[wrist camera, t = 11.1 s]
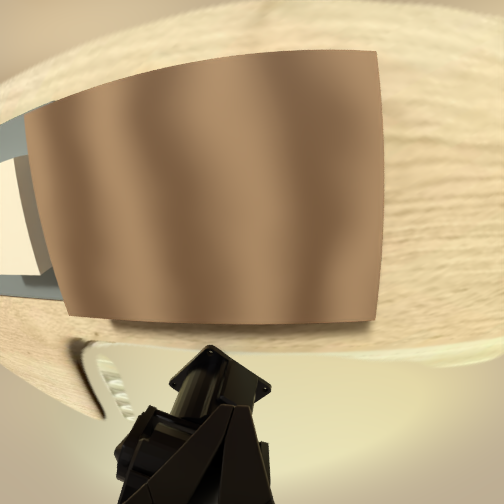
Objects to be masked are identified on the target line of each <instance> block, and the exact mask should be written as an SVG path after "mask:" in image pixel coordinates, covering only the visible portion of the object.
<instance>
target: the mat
mask: <svg viewBox="0 0 504 504" xmlns="http://www.w3.org/2000/svg"><path fill="white" fill-rule="evenodd" d="M52 102H55V101H51V102H49V103H47V104H50V103H52ZM47 104H44V105H42V106H39V107H37V108H35V109H33V110H36V109H38V108H40V107H43V106H45V105H47ZM33 110H30V111H28V112H26V113H29V112H31V111H33ZM26 113H24V114H26ZM24 114H22V115H19V116H17V117H15V118H13V119H11V120H9V121H7V122H5V123H3V124H1V125H0V163H1V162H4V161H6V160H9V159H12V158H15V157H19V156H23V155H27V154H28V150H27V142H26V133H25V122H24ZM0 295H7V296H18V297H29V298H42V299H55V300H63V297H62V294H61V291H60V288H59V285H58V282H57V279H56V276H55V273H54V269H53V266H52V267H51V268H50V269H48V270H47V271H45V272H44V273H43V274H41V275H0Z"/></svg>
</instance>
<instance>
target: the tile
mask: <svg viewBox="0 0 504 504" xmlns="http://www.w3.org/2000/svg"><path fill="white" fill-rule="evenodd" d="M51 267H52V263H51V259H50V256H49V252H48V249H47V245H46V241H45V237H44V233H43V229H42V225H41V221H40V217H39V212H38V208H37V203H36V198H35V193H34V188H33V182H32V176H31V170H30V164H29V157H28V154H27V155H23V156H19V157H15V158H12V159H9V160H6V161H4V162H1V163H0V275H41V274H43V273H44V272H45V271H47V270H48V269H50V268H51Z"/></svg>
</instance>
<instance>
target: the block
mask: <svg viewBox="0 0 504 504" xmlns="http://www.w3.org/2000/svg"><path fill="white" fill-rule="evenodd" d="M24 122H25V133H26V142H27V150H28V157H29V164H30V170H31V176H32V182H33V188H34V193H35V198H36V203H37V208H38V212H39V217H40V221H41V225H42V229H43V233H44V237H45V241H46V245H47V249H48V252H49V256H50V259H51V263H52V266H53V269H54V273H55V276H56V279H57V282H58V285H59V288H60V291H61V294H62V297H63V300H64V303H65V306H66V308H67V311H68V314H69V316H79V317H90V318H102V319H116V320H131V321H148V322H169V323H197V324H306V323H334V322H355V321H372V320H375V317H376V309H377V300H378V290H379V280H380V268H381V255H382V239H383V217H384V140H383V119H382V103H381V90H380V79H379V70H378V61H377V53H376V51H360V50H297V51H279V52H266V53H255V54H245V55H237V56H229V57H222V58H215V59H209V60H203V61H197V62H191V63H186V64H181V65H176V66H171V67H167V68H162V69H158V70H153V71H149V72H145V73H141V74H137V75H134V76H130V77H126V78H123V79H119V80H116V81H113V82H109V83H106V84H103V85H100V86H96V87H93V88H90V89H87V90H85V91H82V92H79V93H76V94H73V95H71V96H68V97H65V98H63V99H60V100H57V101H55V102H52V103H50V104H47V105H45V106H43V107H40V108H38V109H36V110H33V111H31V112H29V113H26V114H24Z"/></svg>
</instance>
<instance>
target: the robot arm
mask: <svg viewBox="0 0 504 504" xmlns="http://www.w3.org/2000/svg"><path fill="white" fill-rule="evenodd" d="M209 351H212V352H213V353H211V352H209ZM169 385H170V386H171V387H172V388H173V389H175V390H176V391H178V392H179V393H178V396H177V398H176V400H175V403H174V406H173V408H172V411H171V413H170V414H168V413H165V412H163V411H160V410H157V408H156V407H153V406H151V405H149V407H148V408H147V410H146V411H145V412H143V413H142V414H141V415H139V416H138V418H137V420H136V422H135V424H134V426H133V428H132V430H131V431H130V433H129V434H128V435H127V436H126V437H125V438H124V440H122V442H121V443H120V444H119V445H118V446H117V447H116V449H115V451H114V455H115V458H116V460H117V462H118V463H117V474H116V478H117V479H118V480H120V481H122V482H124V484H123V487H122V490H121V494H120V497H119V500H118V504H275V503H274V501H273V496H272V492H271V489H270V465H269V464H270V463H269V446H268V443H266V442H262V441H261V442H258V439H257V435H256V431H255V427H254V423H253V419H252V412H253V406H254V403H255V402H257V401H258V400H260V399H261V398H263V397H264V396H266V395H267V394H269V393H270V392H271V385H270V384H269V383H267V382H266V381H265V380H263V379H261V378H260V377H258V376H257V375H255V374H254V373H252V372H251V371H249V370H248V369H246V368H245V367H243V366H242V365H240V364H239V363H238V362H236V361H235V360H233V359H232V358H230V357H229V356H227V355H226V354H225V353H223V352H222V351H220V350H219V349H217V348H216V347H215V346H213V345H207V346H206V347H205V348H204V349H203V350H201V351H200V352H199V353H198V354H197V355H196V356H195V357H194V358H193V359H192V360H191V361H190V362H189V363H188V364H187V365H185V366H184V367H183V368H182V369H181V370H180V371H179V372H178V373H177V374H176V375H175V376H174V377H172V378H171V380H170V382H169ZM264 388H267V389H264Z"/></svg>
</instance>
